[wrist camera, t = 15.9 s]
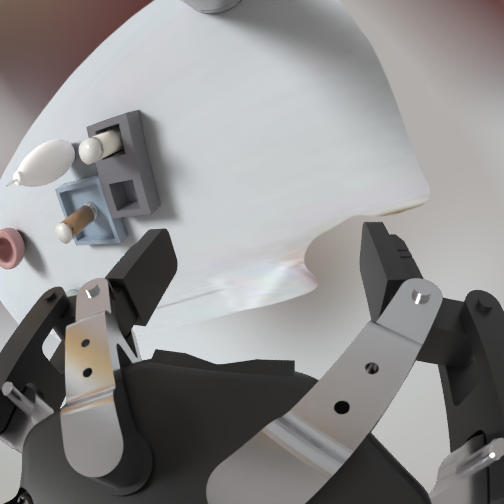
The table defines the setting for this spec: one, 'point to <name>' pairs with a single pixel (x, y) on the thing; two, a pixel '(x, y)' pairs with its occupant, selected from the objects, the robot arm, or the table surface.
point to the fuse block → (127, 168)
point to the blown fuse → (76, 222)
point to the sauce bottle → (45, 164)
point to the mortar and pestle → (11, 248)
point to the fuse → (100, 146)
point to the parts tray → (104, 224)
